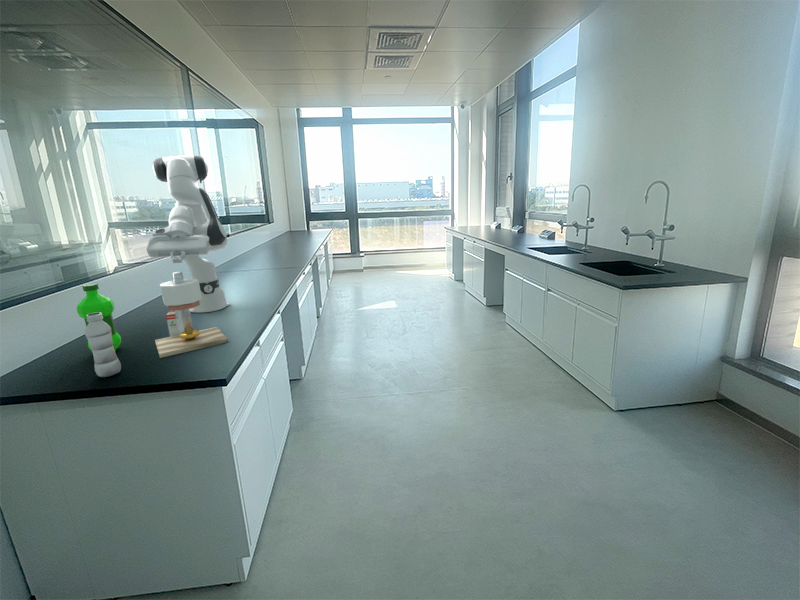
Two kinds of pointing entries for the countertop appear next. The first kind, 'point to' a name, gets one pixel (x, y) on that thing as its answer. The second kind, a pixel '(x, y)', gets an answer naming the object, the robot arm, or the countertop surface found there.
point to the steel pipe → (185, 314)
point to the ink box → (174, 322)
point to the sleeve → (180, 292)
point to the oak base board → (189, 342)
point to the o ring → (184, 306)
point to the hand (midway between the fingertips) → (177, 261)
